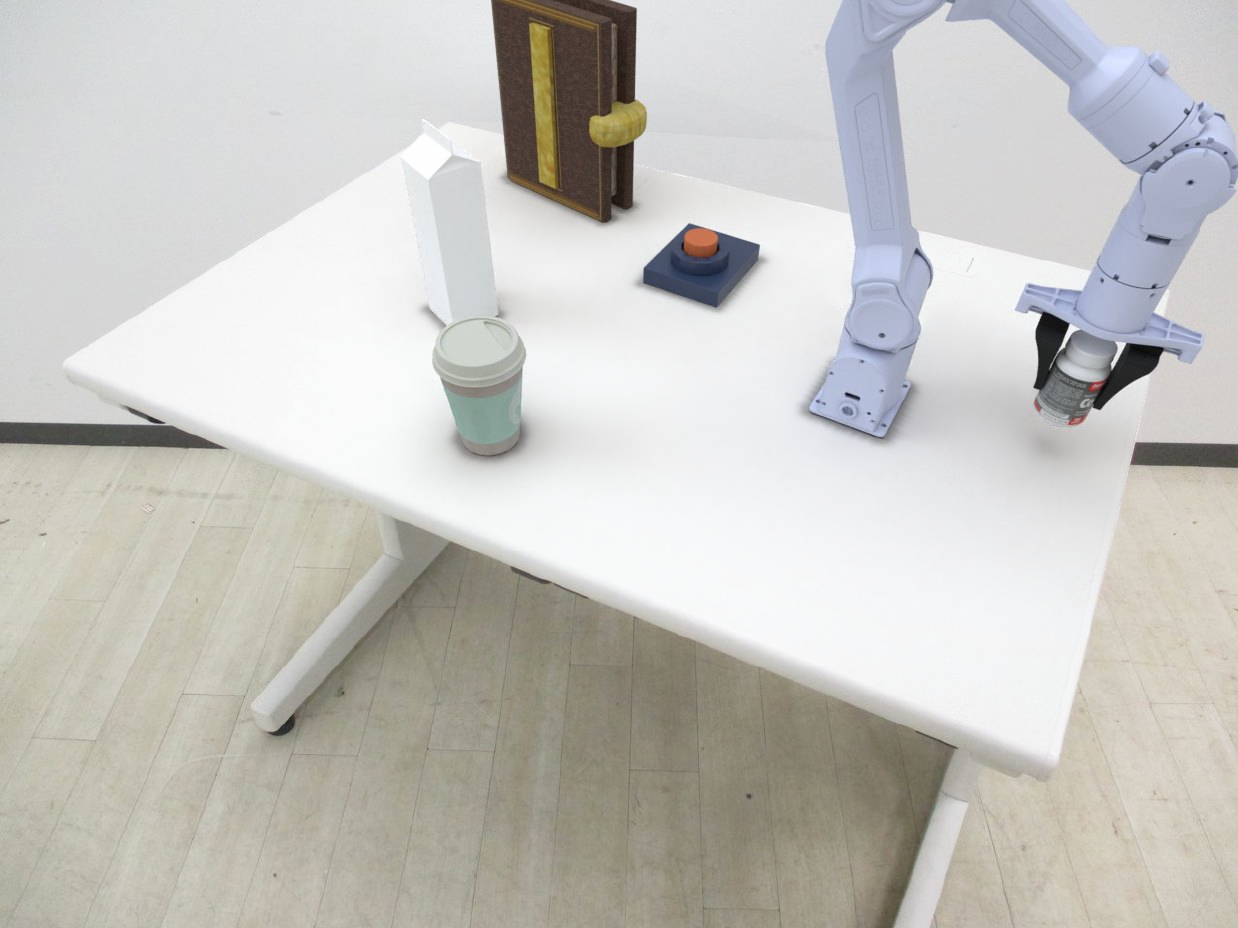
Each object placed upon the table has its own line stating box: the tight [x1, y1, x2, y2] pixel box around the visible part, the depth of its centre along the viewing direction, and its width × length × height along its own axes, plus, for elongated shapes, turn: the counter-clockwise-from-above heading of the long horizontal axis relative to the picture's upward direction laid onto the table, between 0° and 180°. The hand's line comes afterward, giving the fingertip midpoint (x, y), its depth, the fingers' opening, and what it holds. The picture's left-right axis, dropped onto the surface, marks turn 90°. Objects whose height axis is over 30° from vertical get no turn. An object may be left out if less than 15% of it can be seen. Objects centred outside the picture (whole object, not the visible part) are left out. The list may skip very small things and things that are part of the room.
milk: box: [400, 118, 500, 327], centre depth 91 cm, size 6×6×22 cm
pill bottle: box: [1033, 329, 1119, 429], centre depth 78 cm, size 5×5×8 cm
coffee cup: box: [431, 316, 527, 456], centre depth 80 cm, size 8×8×12 cm
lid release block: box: [642, 222, 761, 308], centre depth 104 cm, size 12×10×4 cm
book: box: [490, 0, 648, 224], centre depth 109 cm, size 22×8×25 cm, turn 50°
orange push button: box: [684, 228, 718, 257], centre depth 101 cm, size 4×4×2 cm
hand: (1068, 393), depth 79 cm, fingers closed on pill bottle, 5 cm apart
